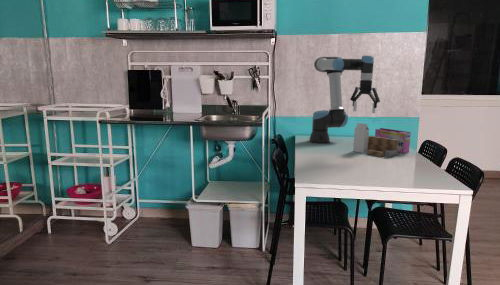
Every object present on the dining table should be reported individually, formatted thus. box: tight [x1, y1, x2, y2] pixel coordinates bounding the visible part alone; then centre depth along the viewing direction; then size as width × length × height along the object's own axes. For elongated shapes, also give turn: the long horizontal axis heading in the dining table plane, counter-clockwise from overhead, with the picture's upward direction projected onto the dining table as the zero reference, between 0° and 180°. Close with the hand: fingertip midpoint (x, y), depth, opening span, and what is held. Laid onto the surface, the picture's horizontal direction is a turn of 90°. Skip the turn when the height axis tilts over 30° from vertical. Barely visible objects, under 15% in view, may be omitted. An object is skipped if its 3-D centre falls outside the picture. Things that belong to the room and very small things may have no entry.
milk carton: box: [352, 122, 370, 154], centre depth 263 cm, size 7×7×19 cm
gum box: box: [374, 127, 412, 154], centre depth 271 cm, size 24×8×14 cm, turn 40°
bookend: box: [384, 149, 397, 159], centre depth 251 cm, size 2×10×4 cm, turn 134°
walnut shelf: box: [367, 135, 398, 158], centre depth 258 cm, size 24×12×10 cm, turn 44°
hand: (363, 112), depth 260 cm, fingers open, 13 cm apart
